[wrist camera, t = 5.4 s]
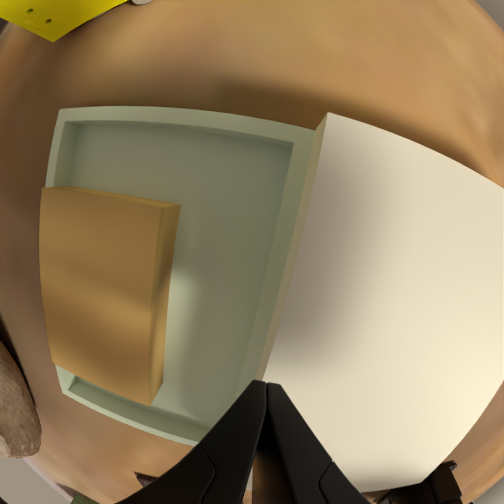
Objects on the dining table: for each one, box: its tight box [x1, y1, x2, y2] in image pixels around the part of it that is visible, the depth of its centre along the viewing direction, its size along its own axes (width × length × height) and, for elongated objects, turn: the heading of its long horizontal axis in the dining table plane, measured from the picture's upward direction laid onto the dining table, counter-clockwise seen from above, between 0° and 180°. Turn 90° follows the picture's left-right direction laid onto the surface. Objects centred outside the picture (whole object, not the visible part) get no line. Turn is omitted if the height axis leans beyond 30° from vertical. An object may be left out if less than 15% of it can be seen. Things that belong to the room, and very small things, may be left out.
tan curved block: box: [39, 186, 181, 407], centre depth 11 cm, size 9×6×2 cm, turn 169°
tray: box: [45, 106, 315, 447], centre depth 11 cm, size 16×11×2 cm
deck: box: [246, 112, 504, 493], centre depth 10 cm, size 16×12×4 cm
